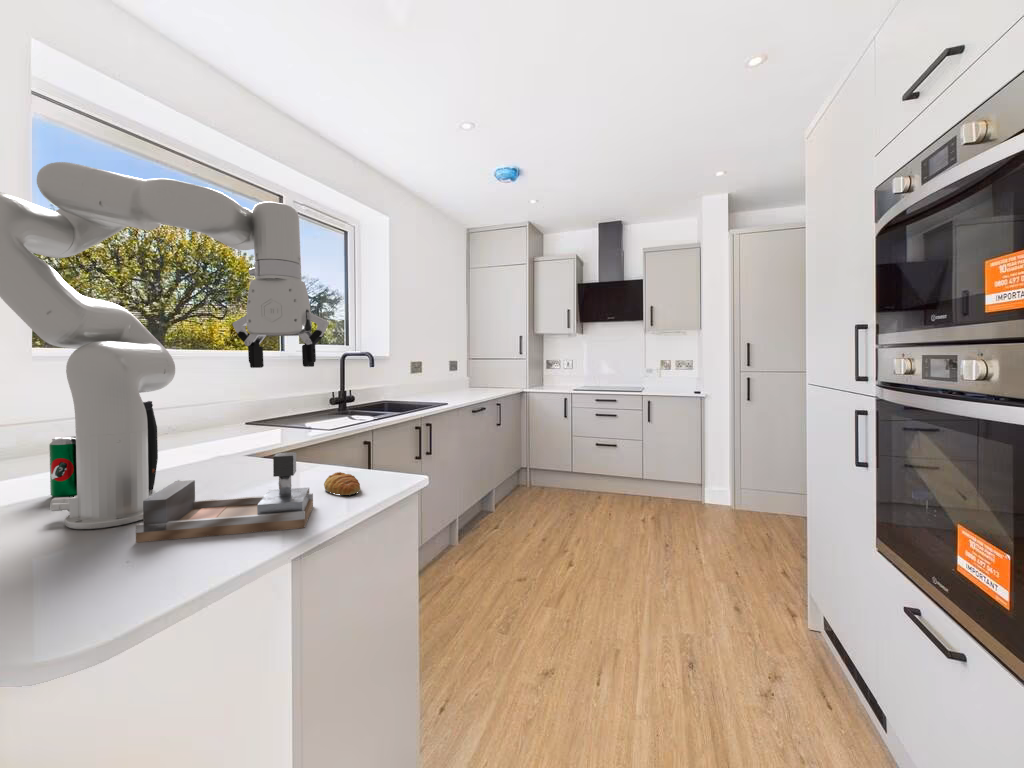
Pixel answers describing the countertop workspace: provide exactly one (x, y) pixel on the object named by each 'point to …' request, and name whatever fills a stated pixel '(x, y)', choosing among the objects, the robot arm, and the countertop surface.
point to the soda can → (63, 467)
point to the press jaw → (284, 488)
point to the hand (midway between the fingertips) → (282, 367)
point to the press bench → (208, 515)
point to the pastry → (342, 484)
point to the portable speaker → (151, 444)
